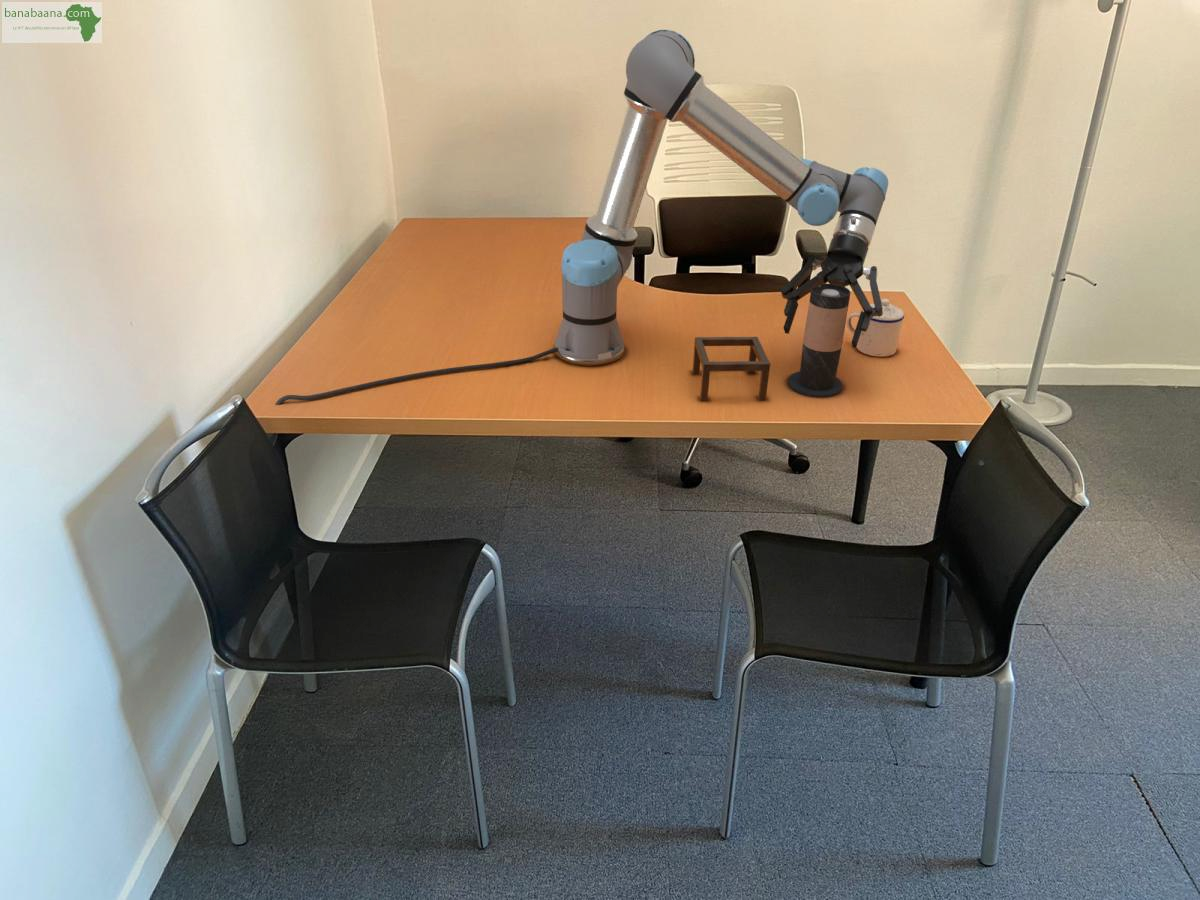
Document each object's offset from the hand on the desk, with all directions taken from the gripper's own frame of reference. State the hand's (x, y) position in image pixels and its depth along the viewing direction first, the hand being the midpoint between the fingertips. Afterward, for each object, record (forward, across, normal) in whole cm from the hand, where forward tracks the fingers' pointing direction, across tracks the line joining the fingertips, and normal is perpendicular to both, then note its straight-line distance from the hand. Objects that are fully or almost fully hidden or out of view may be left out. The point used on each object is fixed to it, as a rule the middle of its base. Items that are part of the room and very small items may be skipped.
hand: (819, 337), depth 171 cm
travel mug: (+6, 0, +10) cm, 11 cm away
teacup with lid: (-10, +6, +27) cm, 29 cm away
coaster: (+6, 0, +10) cm, 12 cm away
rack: (+13, -16, +3) cm, 20 cm away
